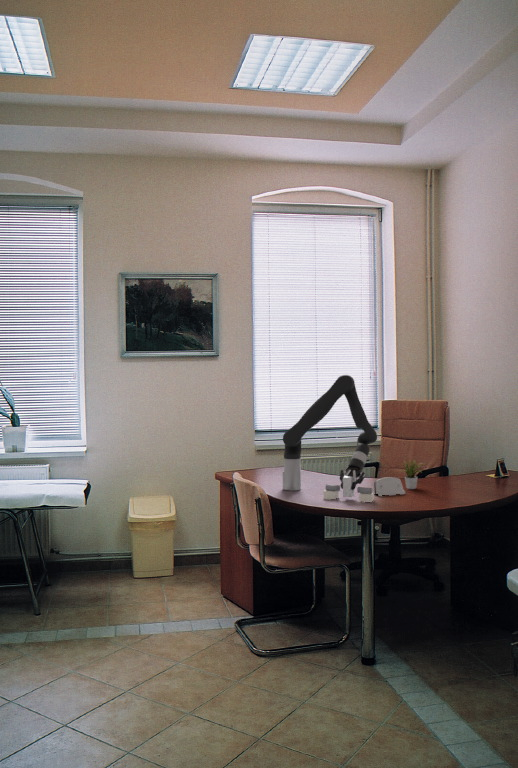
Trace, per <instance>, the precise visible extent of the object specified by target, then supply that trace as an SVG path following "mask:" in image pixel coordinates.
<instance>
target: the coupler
mask: <svg viewBox="0 0 518 768" xmlns="http://www.w3.org/2000/svg"><path fill="white" fill-rule="evenodd" d="M353 482H354V478H353V476H345V475H344V477H343V489H342V498H343V497H344V498H345V497H346V498H352V497H354V496H355V489H354V490H352V489H351V486H352V483H353Z"/></svg>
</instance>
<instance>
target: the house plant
mask: <svg viewBox="0 0 518 768" xmlns="http://www.w3.org/2000/svg"><path fill="white" fill-rule="evenodd" d="M403 462H404V464H403ZM403 462H400V464H401V465H402V466H403V467H404V468H405V469H406V470H404V469H400V470H399V471H400V472H405V473H406V476H404V480H405V481H404V483H405V487H406V489H407V490H415V489H417V485H418V484H417V483H418V478H419V477H418V476H416V475H417V474H418V473H421V474H422V473H423V472H422V471H421V468H420V467H421V466H422V465H423V464H425V462H424V461H423V462H419V463H418V464H417V465H416V462H417V461H416V459H414V460H413V462H411V459H410V458H408V463H409V464H408V463H407V462H406V461H405V460H403ZM418 468H419V469H418Z"/></svg>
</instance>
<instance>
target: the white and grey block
mask: <svg viewBox="0 0 518 768" xmlns="http://www.w3.org/2000/svg"><path fill="white" fill-rule="evenodd" d="M356 493H358V497H359V498H358V500H359V501H365V502H372V501H373V500H374V501H375V495H374V492H373V488H372V487H366V486H358V487H357V489H356ZM374 501H373V502H374ZM365 502H364V503H365ZM373 502H372V503H373Z"/></svg>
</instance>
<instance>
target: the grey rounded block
mask: <svg viewBox="0 0 518 768" xmlns="http://www.w3.org/2000/svg"><path fill="white" fill-rule="evenodd" d="M401 480H402V479H400V478H398V477H394V476H387V477H381V478H379V479H376V480H374V481H373V493H374V494H378V497H383V496H382V495H389V496H397V495H396V494H400V495H406V491H405V490H404V489H405V488H404V487H403V484H402V481H401Z"/></svg>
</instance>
